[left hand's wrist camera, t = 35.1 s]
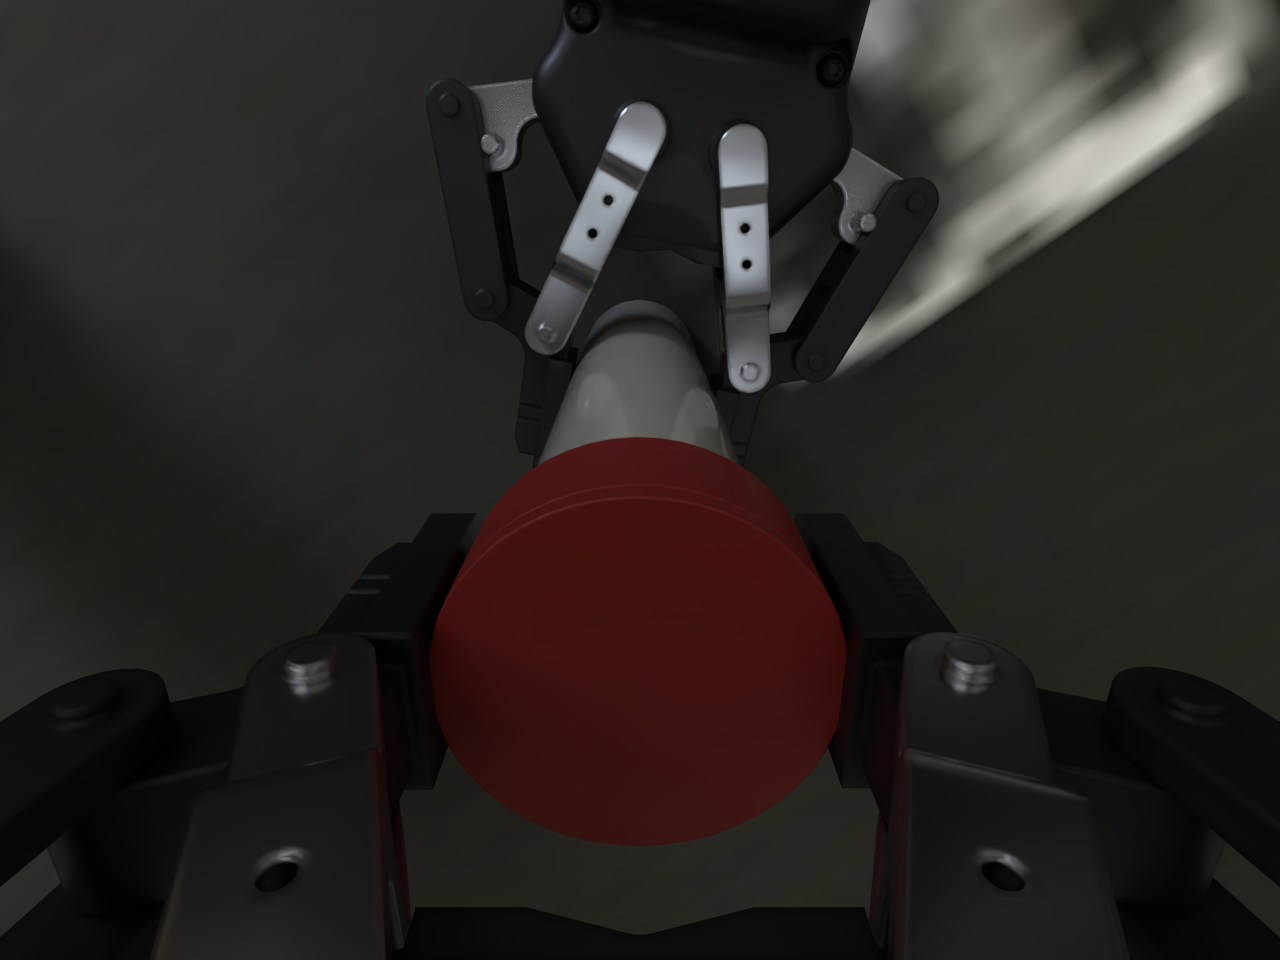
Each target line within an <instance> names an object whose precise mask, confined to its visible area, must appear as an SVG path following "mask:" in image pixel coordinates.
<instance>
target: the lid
mask: <svg viewBox="0 0 1280 960" xmlns="http://www.w3.org/2000/svg"><path fill="white" fill-rule="evenodd" d="M846 654H847V642H846V637H845V634H844V631H843V627H842V624H841V620H840V617H839V615H838V613H837V611H836V608H835V606H834V604H833V602H832V600H831V598H830V596H829V594H828V592H827V590H826V588H825V586H824V583H823V581H822V579H821V577H820V575H819V573H818V571H817V569H816V567H815V565H814V563H813V561H812V559H811V556H810V554H809V552H808V550H807V548H806V546H805V544H804V542H803V540H802V538H801V536H800V534H799V532H798V529H797V527H796V525H795V523H794V521H793V519H792V518H791V516H790V515H789V513H788V512H787V510H786V509H785V508H784V506H783V505H782V503H781V502H780V501H779V500H778V498H777V497H776V496H775V495H774V494H773V493H772V492H771V491H770V490H769V489H768V487H767V486H766V485H764V484H763V483H762V482H761V481H760V480H758V479H757V478H756V477H755V476H754V475H752V474H751V473H750V472H749V471H747V470H746V469H744V468H742V467H741V466H739V465H738V464H736V463H734V462H733V461H731V460H730V459H728V458H725V457H723V456H721V455H719V454H717V453H714V452H712V451H710V450H708V449H705V448H702V447H698V446H695V445H692V444H689V443H685V442H680V441H675V440H669V439H663V438H649V437H628V438H615V439H608V440H603V441H598V442H593V443H588V444H585V445H582V446H579V447H576V448H573V449H570V450H567V451H565V452H563V453H561V454H559V455H557V456H555V457H552V458H550V459H548V460H546V461H544V462H543V463H541V464H540V465H538V466H537V467H535V468H534V469H532V470H531V471H529V472H528V473H526V474H525V475H524V476H522V477H521V478H520V479H519V480H518V481H517V482H516V483H515V484H514V485H512V486H511V487H510V488H509V489H508V490H507V491H506V492H505V493H504V495H503V496H502V497H501V498H500V499H499V501H498V502H497V503H496V504H495V505H494V506H493V508H492V510H491V511H490V513H489V514H488V516H487V518H486V519H485V521H484V523H483V524H482V526H481V528H480V530H479V532H478V534H477V536H476V538H475V540H474V542H473V544H472V546H471V548H470V550H469V552H468V555H467V557H466V559H465V561H464V563H463V565H462V567H461V569H460V571H459V573H458V575H457V577H456V579H455V581H454V583H453V585H452V587H451V589H450V591H449V593H448V595H447V597H446V599H445V602H444V604H443V606H442V609H441V611H440V613H439V616H438V618H437V620H436V623H435V627H434V631H433V635H432V639H431V643H430V649H429V658H430V668H431V677H432V684H433V692H434V700H435V708H436V715H437V721H438V724H439V727H440V729H441V732H442V734H443V737H444V738H445V740H446V742H447V744H448V745H449V747H450V749H451V751H452V752H453V754H454V756H455V757H456V758H457V760H458V761H459V762H460V764H461V765H462V766H463V768H464V769H465V770H466V771H467V773H468V774H469V775H470V776H471V777H472V778H473V779H474V780H475V781H476V782H477V783H478V784H479V785H480V786H481V787H482V788H483V789H484V790H485V791H486V792H487V793H489V794H490V795H491V796H492V797H494V798H495V799H496V800H498V801H499V802H500V803H501V804H503V805H504V806H506V807H507V808H509V809H511V810H512V811H514V812H515V813H517V814H519V815H520V816H522V817H523V818H526V819H528V820H530V821H532V822H534V823H536V824H538V825H540V826H542V827H545V828H547V829H550V830H553V831H556V832H558V833H561V834H564V835H567V836H570V837H575V838H579V839H583V840H587V841H591V842H598V843H605V844H612V845H627V846H651V845H667V844H673V843H679V842H685V841H691V840H695V839H699V838H703V837H706V836H710V835H714V834H717V833H719V832H722V831H725V830H727V829H730V828H733V827H735V826H738V825H740V824H742V823H744V822H746V821H748V820H750V819H752V818H754V817H756V816H757V815H759V814H761V813H762V812H764V811H765V810H767V809H768V808H770V807H772V806H773V805H775V804H776V803H778V802H779V801H780V800H781V799H783V798H784V797H785V796H786V795H787V794H789V793H790V792H791V791H792V790H793V789H795V788H796V787H797V786H798V785H799V784H800V783H801V782H802V781H803V779H804V778H805V777H806V776H807V775H808V774H809V773H810V772H811V771H812V770H813V768H814V767H815V766H816V764H817V763H818V761H819V760H820V759H821V757H822V756H823V754H824V753H825V752H826V750H827V748H828V746H829V744H830V742H831V740H832V738H833V737H834V735H835V733H836V731H837V726H838V720H839V712H840V704H841V696H842V688H843V680H844V672H845V663H846Z"/></svg>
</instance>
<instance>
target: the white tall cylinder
mask: <svg viewBox="0 0 1280 960" xmlns="http://www.w3.org/2000/svg"><path fill="white" fill-rule="evenodd" d="M628 437H649V438H663V439H669V440H675V441H680V442H685V443H689V444H692V445H695V446H698V447H702V448H705V449H708V450H710V451H712V452H714V453H717V454H719V455H721V456H723V457H725V458H728V459H730V460H731V461H733V462H734V463H736V464H738V465H739V466H741V464H740V461H739V459H738V456H737V453H736V451H735V448H734V446H733V443H732V440H731V438H730V435H729V433H728V430H727V427H726V425H725V422H724V420H723V417H722V414H721V412H720V409H719V407H718V404H717V401H716V399H715V396H714V394H713V391H712V388H711V386H710V383H709V381H708V378H707V375H706V373H705V370H704V368H703V365H702V362H701V360H700V357H699V355H698V352H697V349H696V347H695V344H694V342H693V339H692V336H691V334H690V332H689V330H688V328H687V326H686V325H685V323H684V322H683V321H682V319H681V318H680V317H679V316H678V315H677V314H676V313H674V312H673V311H672V310H670V309H669V308H667V307H665V306H663V305H661V304H659V303H656V302H652V301H647V300H633V301H627V302H623V303H620V304H618V305H616V306H614V307H612V308H610V309H609V310H607V311H606V312H605V313H603V314H602V315H601V316H600V317H599V318H598V319H597V321H596V322H595V323H594V325H593V326H592V328H591V330H590V332H589V334H588V337H587V339H586V342H585V344H584V347H583V349H582V352H581V354H580V357H579V360H578V362H577V365H576V367H575V370H574V372H573V375H572V377H571V380H570V383H569V385H568V388H567V390H566V393H565V395H564V398H563V400H562V403H561V406H560V408H559V411H558V413H557V416H556V418H555V421H554V423H553V426H552V429H551V431H550V434H549V436H548V439H547V441H546V444H545V446H544V449H543V452H542V454H541V457H540V459H539V462H538V464H537V466H538V465H540V464H541V463H543V462H544V461H546V460H548V459H550V458H552V457H555V456H557V455H559V454H561V453H563V452H565V451H567V450H570V449H573V448H576V447H579V446H582V445H585V444H588V443H593V442H598V441H603V440H608V439H615V438H628ZM741 467H742V466H741Z"/></svg>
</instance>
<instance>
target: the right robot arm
mask: <svg viewBox="0 0 1280 960" xmlns="http://www.w3.org/2000/svg"><path fill="white" fill-rule="evenodd" d="M869 4H870V0H564V3H563V11H562V17H561V21H560V25H559V28H558V30H557V33H556V36H555V38H554V40H553V42H552V44H551V46H550V47H549V49H548V50H547V52H546V53H545V55H544V56H543V57H542V59H541V60H540V62H539V63H538V65H537V67H536V70H535V73H534V76H533V79H525V80H517V81H509V82H501V83H493V84H485V85H477V86H468V85H465V84H463V83H461V82H459V81H457V80H454V79H448V78H447V79H441V80H439V81H437V82H435V83H434V84H433V85H432V86H431V88H430V89H429V91H428V94H427V98H426V108H427V114H428V119H429V124H430V129H431V134H432V140H433V145H434V150H435V155H436V160H437V165H438V171H439V176H440V181H441V186H442V191H443V196H444V202H445V207H446V212H447V217H448V222H449V227H450V233H451V238H452V243H453V248H454V253H455V258H456V264H457V269H458V274H459V279H460V284H461V289H462V295H463V300H464V304H465V306H466V309H467V310H468V312H469V313H470V314H471V315H472V316H474V317H475V318H477V319H479V320H482V321H492V322H494V323H496V324H498V325H499V326H501V327H503V328H504V329H506V330H508V331H510V332H511V333H513V334H514V335H515V336H516V337H517V338H518V339H519V340H520V342H521V343H522V345H523V348H524V351H525V365H524V372H523V380H522V387H521V395H520V402H519V410H518V418H517V424H516V432H515V438H516V442H517V445H518V449H519V453H525V454H531V455H535V456H534V462H533V469H534V468H535V467H537V464H538V462H539V459H540V457H541V454H542V452H543V449H544V446H545V444H546V441H547V439H548V436H549V434H550V431H551V429H552V426H553V423H554V421H555V418H556V416H557V413H558V411H559V408H560V406H561V403H562V400H563V398H564V395H565V393H566V390H567V388H568V385H569V383H570V380H571V377H572V375H573V372H574V370H575V367H576V361H577V355H578V348H573V347H572V345H573V339H574V332H575V325H576V323H577V321H578V318H579V316H580V314H581V312H582V310H583V308H584V306H585V304H586V302H587V300H588V298H589V296H590V294H591V292H592V290H593V288H594V285H595V283H596V281H597V279H598V277H599V275H600V273H601V271H602V269H603V267H604V265H605V263H606V261H607V259H608V257H609V255H610V253H611V251H612V249H613V247H618V248H623V249H628V250H633V251H638V252H641V251H654V250H671V251H673V252H675V253H677V254H679V255H681V256H683V257H685V258H687V259H689V260H691V261H693V262H695V263H698V264H703V265H708V266H713V281H714V292H715V299H716V306H717V320H718V335H719V351H720V361H721V362H720V366H719V370H718V374H713V373H710V376H709V380H708V381H709V383H710V386H711V388H712V391H713V394H714V396H715V399H716V401H717V404H718V407H719V409H720V412H721V414H722V417H723V420H724V422H725V425H726V427H727V430H728V433H729V435H730V438H731V440H732V443H733V446H734V448H735V451H736V453H737V456H738V459H739V461H740V464H741V466H742V468H743V465H744V461H745V457H746V453H747V449H748V445H749V441H750V437H751V434H752V430H753V426H754V422H755V418H756V414H757V410H758V406H759V403H760V400H761V398H762V396H763V395H764V394H765V393H766V391H767V390H769V389H770V388H771V387H773V386H775V385H777V384H781V383H786V382H793V381H799V380H806V381H809V382H821V381H824V380H826V379H827V378H829V377H830V376H831V375H832V374H833V373H834V371H835V370H836V368H837V367H838V365H839V363H840V362H841V360H842V359H843V357H844V356H845V354H846V352H847V351H848V349H849V348H850V346H851V344H852V343H853V341H854V340H855V338H856V337H857V335H858V333H859V332H860V330H861V329H862V327H863V326H864V324H865V322H866V321H867V319H868V318H869V316H870V315H871V313H872V311H873V310H874V308H875V307H876V305H877V304H878V302H879V300H880V299H881V297H882V296H883V294H884V292H885V291H886V289H887V288H888V286H889V285H890V283H891V281H892V280H893V278H894V277H895V275H896V274H897V272H898V270H899V269H900V267H901V266H902V264H903V263H904V261H905V259H906V258H907V256H908V255H909V253H910V251H911V250H912V248H913V247H914V245H915V244H916V242H917V240H918V239H919V237H920V236H921V234H922V233H923V231H924V229H925V228H926V226H927V225H928V223H929V222H930V220H931V218H932V217H933V215H934V214H935V212H936V210H937V207H938V203H939V194H938V190H937V188H936V186H935V185H934V184H933V183H932V182H931V181H930V180H928V179H925V178H921V177H919V178H901V177H899V176H898V175H896V174H895V173H893V172H891V171H890V170H888V169H886V168H885V167H883V166H882V165H880V164H878V163H877V162H875V161H873V160H872V159H870V158H869V157H867V156H865V155H864V154H862V153H860V152H859V151H857V150H856V149H854V148H852V144H853V130H852V125H851V121H850V116H849V110H848V87H849V81H850V76H851V73H852V69H853V65H854V62H855V58H856V54H857V50H858V46H859V42H860V39H861V35H862V31H863V27H864V23H865V20H866V16H867V12H868V8H869ZM537 122H540V123H541V125H542V127H543V129H544V131H545V134H546V136H547V138H548V140H549V142H550V144H551V146H552V149H553V151H554V153H555V155H556V157H557V159H558V161H559V164H560V166H561V168H562V170H563V172H564V174H565V176H566V179H567V181H568V183H569V185H570V187H571V189H572V192H573V194H574V196H575V198H576V200H577V202H578V204H579V208H578V210H577V212H576V214H575V216H574V219H573V221H572V223H571V225H570V227H569V229H568V232H567V234H566V236H565V238H564V240H563V242H562V245H561V247H560V249H559V251H558V253H557V256H556V258H555V261H554V263H553V267H552V269H551V272H550V274H549V276H548V278H547V280H546V283H545V285H544V287H543V289H542V291H541V292H540V291H539V290H537V289H535V288H534V287H532V286H530V285H529V284H527V283H525V282H523V281H522V280H520V279H519V274H518V268H517V262H516V256H515V250H514V244H513V238H512V231H511V225H510V219H509V213H508V207H507V201H506V195H505V189H504V183H503V177H502V172H508V171H510V170H512V169H514V168H515V167H516V166H517V165H518V163H519V161H520V159H521V156H522V141H523V137H524V134H525V132H526V131H527V129H528V128H529V127H530V126H531V125H533V124H535V123H537ZM829 184H830V185H831V187H832V188H833V190H834V192H835V196H836V205H835V209H834V211H833V214H832V216H831V221H830V226H831V231H832V233H833V235H834V236H835V238H836V239H838V240H839V241H840V242H839V244H838V245H837V247H836V249H835V250H834V252H833V254H832V255H831V257H830V259H829V260H828V262H827V264H826V265H825V267H824V269H823V270H822V272H821V274H820V275H819V277H818V279H817V280H816V282H815V284H814V285H813V287H812V289H811V290H810V292H809V294H808V295H807V297H806V299H805V301H804V302H803V304H802V306H801V307H800V309H799V311H798V312H797V314H796V316H795V317H794V319H793V321H792V322H791V324H790V326H789V327H788V329H787V331H786V332H782V333H775V334H769V308H770V304H771V280H770V253H769V240H770V239H771V238H772V237H773V236H774V235H775V234H776V233H777V232H778V231H779V230H780V229H781V228H782V227H783V226H785V225H786V224H787V223H788V222H789V221H790V220H791V219H792V218H793V217H794V216H795V215H796V214H797V213H798V212H800V211H801V210H802V209H803V208H804V207H805V206H806V205H807V204H808V203H809V202H810V201H811V200H812V199H813V198H815V197H816V196H817V195H818V194H819V193H820V192H821V191H822V190H823V189H824V188H825V187H826V186H827V185H829Z"/></svg>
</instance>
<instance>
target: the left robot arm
mask: <svg viewBox="0 0 1280 960" xmlns="http://www.w3.org/2000/svg"><path fill="white" fill-rule="evenodd" d="M794 523H795V525H796V527H797V529H798V532H799V534H800V536H801V538H802V540H803V542H804V544H805V546H806V548H807V550H808V552H809V554H810V556H811V559H812V561H813V563H814V565H815V567H816V569H817V571H818V573H819V575H820V577H821V579H822V581H823V583H824V586H825V588H826V590H827V592H828V594H829V596H830V598H831V600H832V602H833V604H834V606H835V608H836V611H837V613H838V615H839V617H840V620H841V624H842V627H843V631H844V634H845V637H846V642H847V654H846V663H845V672H844V680H843V688H842V696H841V704H840V712H839V720H838V726H837V731H836V733H835V735H834V737H833V738H832V740H831V742H830V744H829V746H828V749H829V752H830V754H831V757H832V760H833V763H834V766H835V769H836V772H837V775H838V778H839V781H840V783H841V786H842V788H871V790H872V793H873V795H874V798H875V800H876V803H877V805H878V808H879V817H878V823H877V830H876V842H875V853H874V865H873V877H872V888H871V900H870V912H869V921H868V918H867V915H866V912H865V909H864V907H753V908H749V909H745V910H741V911H738V912H734V913H730V914H726V915H722V916H718V917H714V918H710V919H706V920H702V921H699V922H695V923H691V924H687V925H683V926H679V927H675V928H671V929H667V930H664V931H660V932H656V933H652V934H646V935H634V934H628V933H624V932H620V931H616V930H613V929H609V928H605V927H601V926H597V925H593V924H589V923H585V922H581V921H578V920H574V919H570V918H566V917H562V916H558V915H554V914H550V913H546V912H542V911H539V910H535V909H531V908H527V907H416V909H415V912H414V915H413V918H412V921H411V912H410V900H409V888H408V877H407V865H406V853H405V842H404V830H403V823H402V817H401V810H400V804H399V800H400V798H401V795H402V793H403V790H431V789H433V787H434V785H435V782H436V779H437V776H438V773H439V770H440V768H441V765H442V762H443V759H444V756H445V753H446V751H447V748H448V744H447V742H446V740H445V738H444V737H443V734H442V732H441V729H440V727H439V724H438V721H437V715H436V708H435V700H434V692H433V684H432V677H431V668H430V658H429V649H430V643H431V639H432V635H433V631H434V627H435V623H436V620H437V618H438V616H439V613H440V611H441V609H442V606H443V604H444V602H445V599H446V597H447V595H448V593H449V591H450V589H451V587H452V585H453V583H454V581H455V579H456V577H457V575H458V573H459V571H460V569H461V567H462V565H463V563H464V561H465V559H466V557H467V555H468V552H469V550H470V548H471V546H472V544H473V542H474V540H475V538H476V536H477V534H478V532H479V530H480V528H481V526H482V519H481V517H480V515H479V514H478V513H433V514H431V515H430V516H429V518H428V519H427V521H426V522H425V524H424V525H423V527H422V528H421V530H420V531H419V533H418V534H417V536H416V537H415V539H414V540H413V542H412V543H397V544H395V545H394V546H392V547H390V548H389V549H387V550H386V551H384V552H382V553H381V554H379V555H377V556H376V557H374V558H373V559H372V561H371V562H370V563H369V565H368V566H367V567H366V569H365V570H364V571H363V573H362V574H361V575H360V579H357V581H356V582H355V583H354V585H353V586H352V587H351V589H350V590H349V594H346V595H345V597H344V598H343V599H342V601H341V602H340V603H339V605H338V606H337V607H336V609H335V610H334V611H333V613H332V614H331V615H330V617H329V618H328V619H327V621H326V622H325V623H324V625H323V626H322V627H321V629H320V630H319V631H318V633H317V634H314V635H310V636H305V637H302V638H299V639H295V640H293V641H290V642H288V643H285V644H283V645H281V646H279V647H277V648H275V649H273V650H272V651H270V652H268V653H267V654H265V655H264V656H263V657H262V658H260V659H259V660H258V661H257V662H256V663H255V664H254V665H253V666H252V668H251V669H250V671H249V672H248V674H247V677H246V680H245V685H244V687H242V688H239V689H235V690H231V691H226V692H222V693H217V694H212V695H207V696H201V697H196V698H191V699H186V700H181V701H176V702H171V703H170V700H169V697H168V693H167V690H166V686H165V683H164V681H163V679H162V678H161V677H160V676H159V675H158V674H156V673H154V672H151V671H147V670H142V669H120V670H112V671H106V672H101V673H97V674H93V675H90V676H86V677H83V678H80V679H77V680H74V681H72V682H69V683H67V684H64V685H62V686H60V687H58V688H56V689H53V690H51V691H49V692H47V693H46V694H44V695H42V696H41V697H39V698H37V699H36V700H34V701H32V702H31V703H29V704H28V705H26V706H25V707H23V708H21V709H20V710H18V711H17V712H15V713H14V714H12V715H10V716H9V717H7V718H6V719H4V720H2V721H1V722H0V887H1V886H2V885H3V884H4V883H5V882H7V881H8V880H9V879H10V878H11V877H13V876H14V875H15V874H16V873H17V872H19V871H20V870H21V869H22V868H23V867H25V866H26V865H27V864H28V863H29V862H31V861H32V860H33V859H34V858H35V857H37V856H38V855H39V854H40V853H41V852H42V851H44V850H45V849H46V848H47V850H48V853H49V855H50V858H51V860H52V863H53V865H54V868H55V870H56V873H57V875H58V878H59V880H60V884H59V885H58V886H57V887H56V888H55V889H54V890H52V891H51V892H50V893H49V894H48V895H47V896H46V897H45V898H44V899H42V900H41V901H40V902H39V903H38V904H37V905H36V906H35V907H34V908H32V909H31V910H30V911H29V912H28V913H27V914H26V915H25V916H24V917H22V918H21V919H20V920H19V921H18V922H17V923H16V924H15V925H14V926H12V927H11V928H10V929H9V930H8V931H7V932H6V933H5V934H4V935H2V936H1V937H0V960H1280V937H1279V936H1278V935H1276V934H1275V933H1274V932H1273V931H1272V930H1271V929H1270V928H1269V927H1268V926H1266V925H1265V924H1264V923H1263V922H1262V921H1261V920H1260V919H1259V918H1258V917H1256V916H1255V915H1254V914H1253V913H1252V912H1251V911H1250V910H1249V909H1248V908H1246V907H1245V906H1244V905H1243V904H1242V903H1241V902H1240V901H1239V900H1237V899H1236V898H1235V897H1234V896H1233V895H1232V894H1231V893H1230V892H1229V891H1227V890H1226V889H1225V888H1224V887H1223V886H1222V885H1221V884H1220V883H1219V882H1217V881H1216V880H1215V879H1214V878H1213V876H1214V874H1215V871H1216V869H1217V866H1218V864H1219V861H1220V859H1221V856H1222V854H1223V851H1224V849H1225V846H1226V844H1227V843H1228V844H1229V845H1230V846H1232V847H1233V848H1234V849H1235V850H1236V851H1237V852H1239V853H1240V854H1241V855H1242V856H1243V857H1245V858H1246V859H1247V860H1248V861H1249V862H1251V863H1252V864H1253V865H1254V866H1255V867H1257V868H1258V869H1259V870H1260V871H1261V872H1263V873H1264V874H1265V875H1266V876H1267V877H1269V878H1270V879H1271V880H1272V881H1273V882H1275V883H1276V884H1277V885H1278V886H1279V887H1280V722H1279V721H1277V720H1276V719H1274V718H1273V717H1271V716H1270V715H1268V714H1266V713H1265V712H1263V711H1262V710H1260V709H1259V708H1257V707H1255V706H1254V705H1252V704H1251V703H1249V702H1248V701H1246V700H1244V699H1243V698H1241V697H1240V696H1238V695H1236V694H1235V693H1233V692H1231V691H1229V690H1227V689H1225V688H1223V687H1221V686H1219V685H1217V684H1215V683H1213V682H1210V681H1208V680H1205V679H1203V678H1200V677H1197V676H1194V675H1191V674H1187V673H1184V672H1180V671H1176V670H1171V669H1165V668H1157V667H1135V668H1130V669H1126V670H1123V671H1121V672H1119V673H1118V674H1117V675H1116V676H1115V677H1114V679H1113V681H1112V685H1111V688H1110V692H1109V695H1108V699H1107V702H1104V701H1099V700H1094V699H1089V698H1084V697H1079V696H1074V695H1068V694H1063V693H1058V692H1053V691H1048V690H1044V689H1040V688H1036V685H1035V680H1034V677H1033V674H1032V672H1031V671H1030V669H1029V668H1028V666H1027V665H1026V664H1025V663H1024V662H1023V661H1022V660H1021V659H1020V658H1018V657H1017V656H1016V655H1015V654H1013V653H1012V652H1010V651H1008V650H1007V649H1005V648H1003V647H1001V646H999V645H997V644H995V643H992V642H990V641H987V640H985V639H981V638H978V637H975V636H970V635H966V634H959V633H958V632H957V631H956V630H955V628H954V627H953V625H952V624H951V623H950V621H949V620H948V619H947V617H946V616H945V615H944V613H943V612H942V611H941V609H940V608H939V607H938V605H937V604H936V602H935V601H934V600H933V598H932V597H931V596H930V594H929V593H926V589H925V588H924V586H923V585H922V584H921V582H920V581H919V579H918V578H915V574H914V573H913V571H912V570H911V569H910V567H909V566H908V565H907V563H906V562H905V560H904V559H903V558H902V557H901V556H899V555H898V554H896V553H894V552H893V551H891V550H890V549H888V548H886V547H885V546H883V545H882V544H880V543H878V542H863V540H862V539H861V537H860V536H859V534H858V533H857V531H856V530H855V528H854V527H853V525H852V524H851V522H850V521H849V519H848V518H847V516H846V515H845V514H844V513H797V514H796V516H795V519H794Z"/></svg>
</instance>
